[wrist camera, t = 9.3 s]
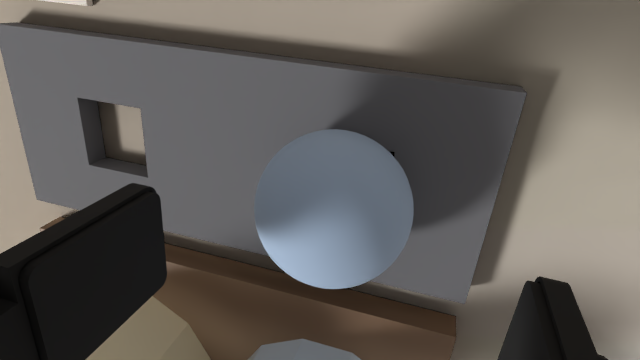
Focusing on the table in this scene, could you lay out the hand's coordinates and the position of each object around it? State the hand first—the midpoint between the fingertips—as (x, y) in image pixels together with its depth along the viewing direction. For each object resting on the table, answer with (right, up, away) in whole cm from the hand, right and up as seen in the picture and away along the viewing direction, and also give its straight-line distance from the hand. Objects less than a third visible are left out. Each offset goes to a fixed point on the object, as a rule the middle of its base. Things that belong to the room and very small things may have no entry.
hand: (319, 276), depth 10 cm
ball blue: (0, +1, +3) cm, 3 cm away
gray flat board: (-4, +4, +7) cm, 8 cm away
